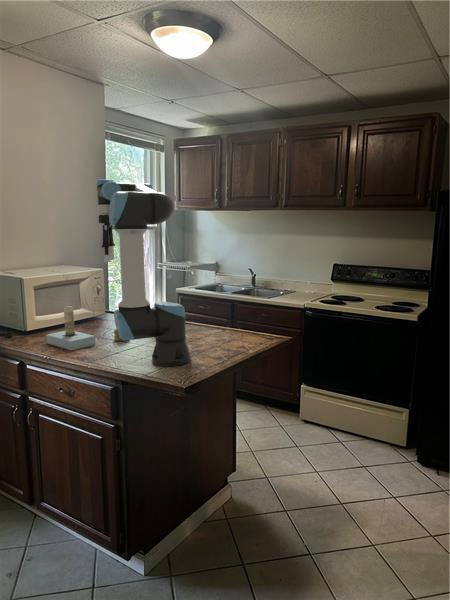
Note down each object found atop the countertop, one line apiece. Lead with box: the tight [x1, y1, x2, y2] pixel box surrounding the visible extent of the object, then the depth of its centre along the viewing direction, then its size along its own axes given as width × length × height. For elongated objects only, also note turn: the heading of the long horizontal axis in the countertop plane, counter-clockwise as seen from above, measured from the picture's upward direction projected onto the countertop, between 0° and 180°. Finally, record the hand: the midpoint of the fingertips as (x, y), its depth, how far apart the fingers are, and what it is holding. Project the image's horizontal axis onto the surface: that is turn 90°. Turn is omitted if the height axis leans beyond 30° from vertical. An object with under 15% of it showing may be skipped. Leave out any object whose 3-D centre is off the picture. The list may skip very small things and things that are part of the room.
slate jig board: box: [46, 330, 96, 351], centre depth 202 cm, size 20×12×4 cm, turn 51°
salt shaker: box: [113, 329, 129, 343], centre depth 207 cm, size 7×7×10 cm
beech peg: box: [63, 305, 76, 337], centre depth 200 cm, size 4×4×16 cm
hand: (109, 261), depth 206 cm, fingers open, 13 cm apart
